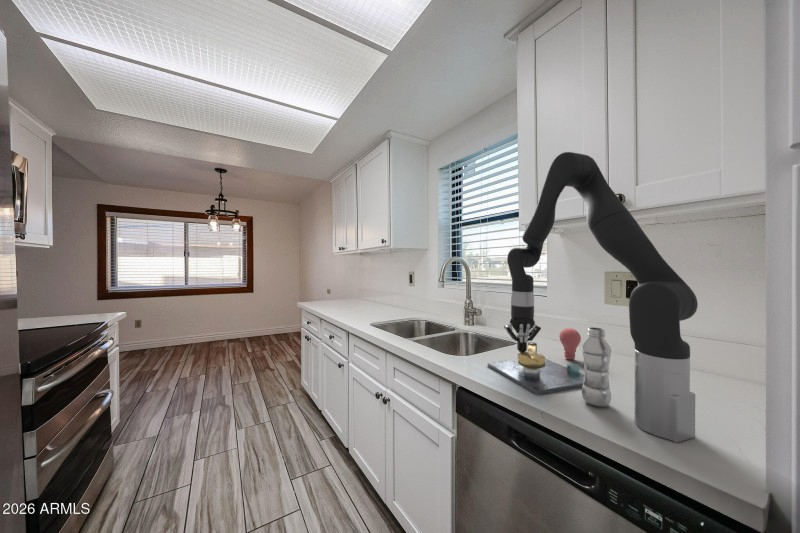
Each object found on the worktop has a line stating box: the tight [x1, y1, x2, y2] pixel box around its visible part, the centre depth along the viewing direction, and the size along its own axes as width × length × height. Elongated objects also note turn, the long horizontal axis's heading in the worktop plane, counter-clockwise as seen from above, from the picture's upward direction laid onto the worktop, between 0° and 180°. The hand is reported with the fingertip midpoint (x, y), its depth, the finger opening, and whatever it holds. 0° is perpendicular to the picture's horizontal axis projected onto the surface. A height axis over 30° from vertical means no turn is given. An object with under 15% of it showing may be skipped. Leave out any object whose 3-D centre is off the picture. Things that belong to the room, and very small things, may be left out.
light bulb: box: [559, 327, 582, 361], centre depth 111 cm, size 7×7×12 cm
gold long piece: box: [517, 341, 546, 368], centre depth 98 cm, size 20×8×6 cm, turn 154°
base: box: [487, 358, 584, 396], centre depth 97 cm, size 24×23×5 cm
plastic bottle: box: [581, 326, 612, 408], centre depth 76 cm, size 6×7×20 cm
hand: (522, 352), depth 103 cm, fingers closed
